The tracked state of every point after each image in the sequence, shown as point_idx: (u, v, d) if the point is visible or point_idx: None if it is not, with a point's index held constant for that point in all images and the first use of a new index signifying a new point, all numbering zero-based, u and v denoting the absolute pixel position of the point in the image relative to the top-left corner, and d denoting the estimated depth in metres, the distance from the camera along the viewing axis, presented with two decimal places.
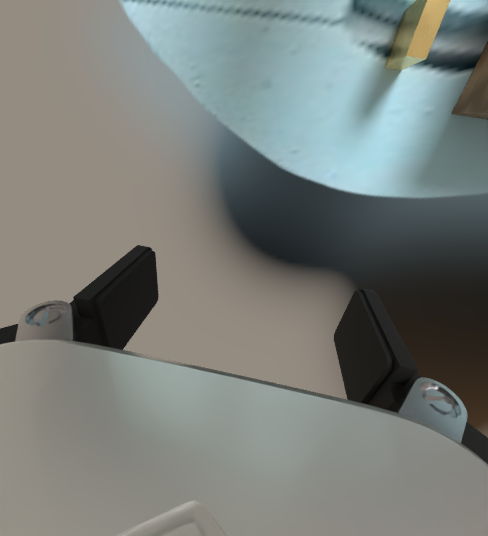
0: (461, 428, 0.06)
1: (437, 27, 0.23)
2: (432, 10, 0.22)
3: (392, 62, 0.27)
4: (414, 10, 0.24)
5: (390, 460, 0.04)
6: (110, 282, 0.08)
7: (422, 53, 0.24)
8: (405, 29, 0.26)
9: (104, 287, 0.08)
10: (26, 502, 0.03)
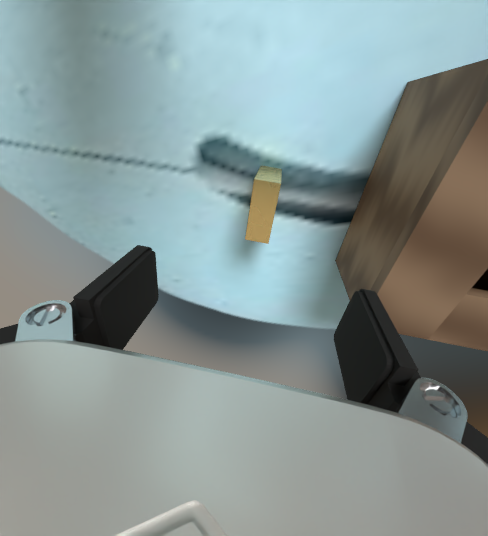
0: (461, 428, 0.06)
1: (272, 217, 0.19)
2: (261, 202, 0.18)
3: None
4: None
5: (390, 460, 0.04)
6: (110, 282, 0.08)
7: (262, 238, 0.20)
8: None
9: (104, 286, 0.08)
10: (26, 502, 0.03)
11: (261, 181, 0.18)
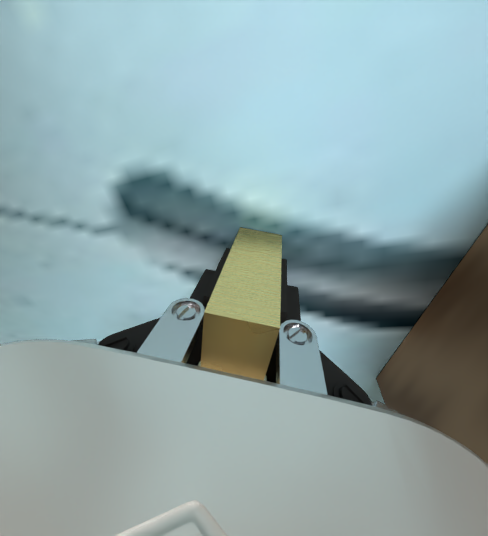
0: (317, 347, 0.07)
1: None
2: (228, 359, 0.07)
3: None
4: None
5: (390, 460, 0.04)
6: None
7: None
8: None
9: None
10: (26, 502, 0.03)
11: (224, 320, 0.06)
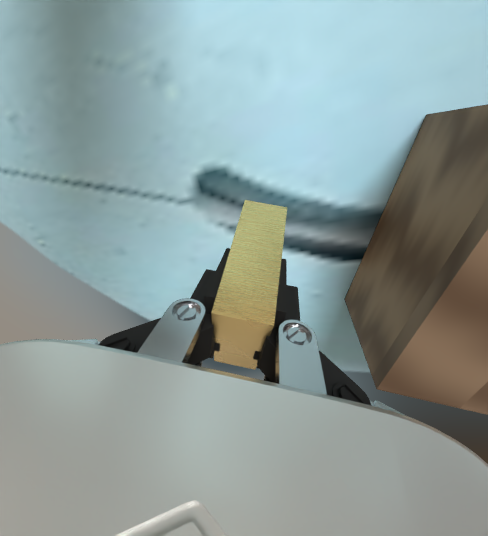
0: (316, 347, 0.07)
1: None
2: (234, 337, 0.09)
3: None
4: None
5: (390, 460, 0.04)
6: None
7: (244, 365, 0.11)
8: None
9: None
10: (26, 502, 0.03)
11: (228, 318, 0.08)
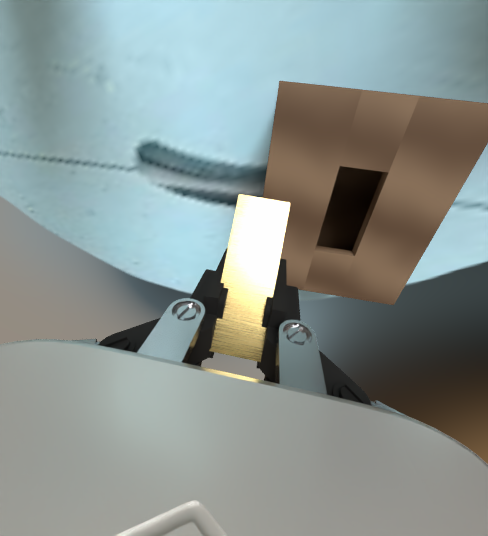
0: (316, 347, 0.07)
1: None
2: None
3: None
4: None
5: (390, 460, 0.04)
6: None
7: None
8: None
9: (223, 286, 0.09)
10: (26, 502, 0.03)
11: (222, 352, 0.09)
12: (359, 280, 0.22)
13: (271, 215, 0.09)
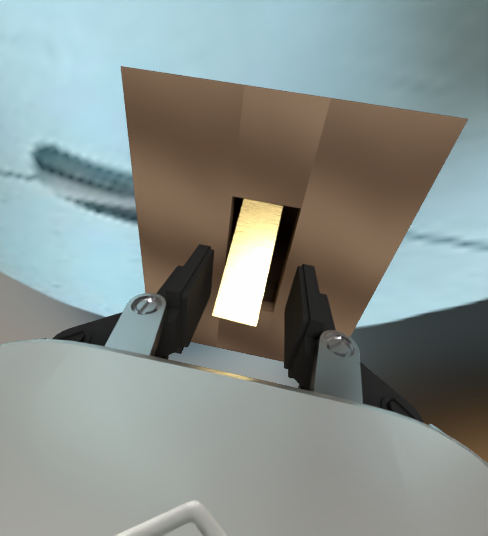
0: (358, 362, 0.07)
1: (251, 326, 0.13)
2: None
3: None
4: None
5: (390, 460, 0.04)
6: (190, 277, 0.09)
7: None
8: None
9: (187, 281, 0.09)
10: (26, 502, 0.03)
11: (224, 318, 0.11)
12: None
13: (268, 214, 0.12)
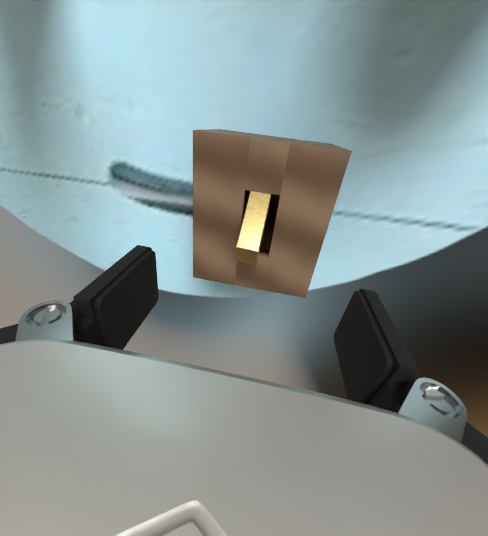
0: (461, 428, 0.06)
1: (255, 259, 0.24)
2: (245, 254, 0.23)
3: None
4: None
5: (390, 460, 0.04)
6: (110, 282, 0.08)
7: (251, 263, 0.26)
8: None
9: (104, 287, 0.08)
10: (26, 502, 0.03)
11: (242, 248, 0.22)
12: (275, 277, 0.28)
13: (263, 198, 0.23)
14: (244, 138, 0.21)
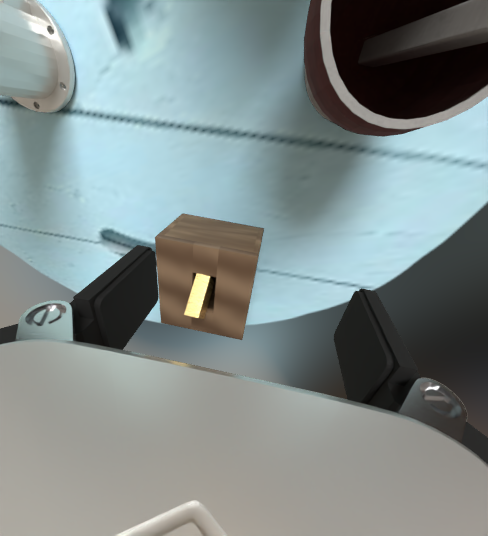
0: (461, 428, 0.06)
1: (200, 318, 0.35)
2: None
3: None
4: None
5: (390, 460, 0.04)
6: (110, 282, 0.08)
7: None
8: None
9: (104, 286, 0.08)
10: (26, 502, 0.03)
11: (188, 315, 0.32)
12: (219, 326, 0.38)
13: (204, 279, 0.34)
14: (189, 244, 0.31)
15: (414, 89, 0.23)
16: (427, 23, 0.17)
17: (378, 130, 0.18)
